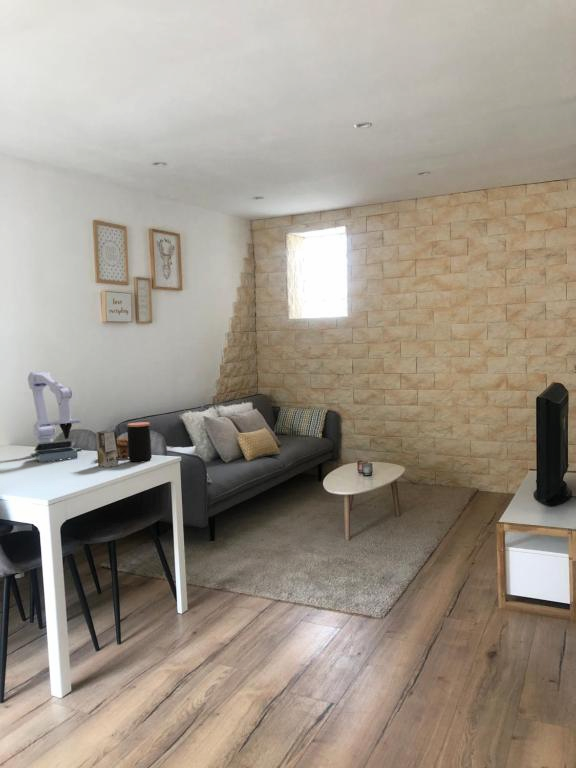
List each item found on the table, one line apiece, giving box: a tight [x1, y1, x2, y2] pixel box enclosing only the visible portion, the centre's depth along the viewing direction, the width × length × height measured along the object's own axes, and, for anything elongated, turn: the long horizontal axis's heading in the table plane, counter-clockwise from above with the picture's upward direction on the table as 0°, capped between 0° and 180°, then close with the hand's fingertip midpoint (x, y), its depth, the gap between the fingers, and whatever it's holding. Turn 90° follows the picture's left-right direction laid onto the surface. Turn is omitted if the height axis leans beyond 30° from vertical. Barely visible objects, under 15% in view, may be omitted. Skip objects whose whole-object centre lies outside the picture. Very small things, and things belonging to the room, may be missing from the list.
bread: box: [117, 436, 129, 459], centre depth 317 cm, size 19×11×10 cm, turn 109°
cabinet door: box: [34, 438, 78, 452], centre depth 322 cm, size 15×19×2 cm
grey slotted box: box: [29, 446, 82, 463], centre depth 322 cm, size 14×24×4 cm, turn 120°
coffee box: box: [95, 429, 119, 468], centre depth 295 cm, size 9×6×16 cm
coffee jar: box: [126, 421, 153, 463], centre depth 304 cm, size 11×11×18 cm
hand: (66, 438), depth 321 cm, fingers closed
